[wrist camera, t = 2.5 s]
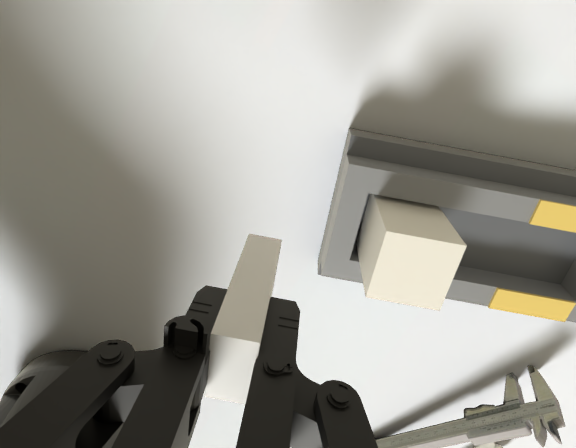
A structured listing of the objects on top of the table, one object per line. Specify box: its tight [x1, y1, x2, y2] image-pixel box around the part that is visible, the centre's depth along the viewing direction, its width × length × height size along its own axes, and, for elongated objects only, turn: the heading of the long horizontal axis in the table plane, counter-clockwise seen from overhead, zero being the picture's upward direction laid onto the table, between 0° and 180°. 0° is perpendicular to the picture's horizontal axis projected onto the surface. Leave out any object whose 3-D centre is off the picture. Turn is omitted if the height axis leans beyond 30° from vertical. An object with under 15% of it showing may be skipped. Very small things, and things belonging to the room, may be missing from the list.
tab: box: [356, 194, 467, 311], centre depth 23 cm, size 4×4×6 cm
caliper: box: [375, 366, 565, 448], centre depth 33 cm, size 20×1×6 cm, turn 130°
